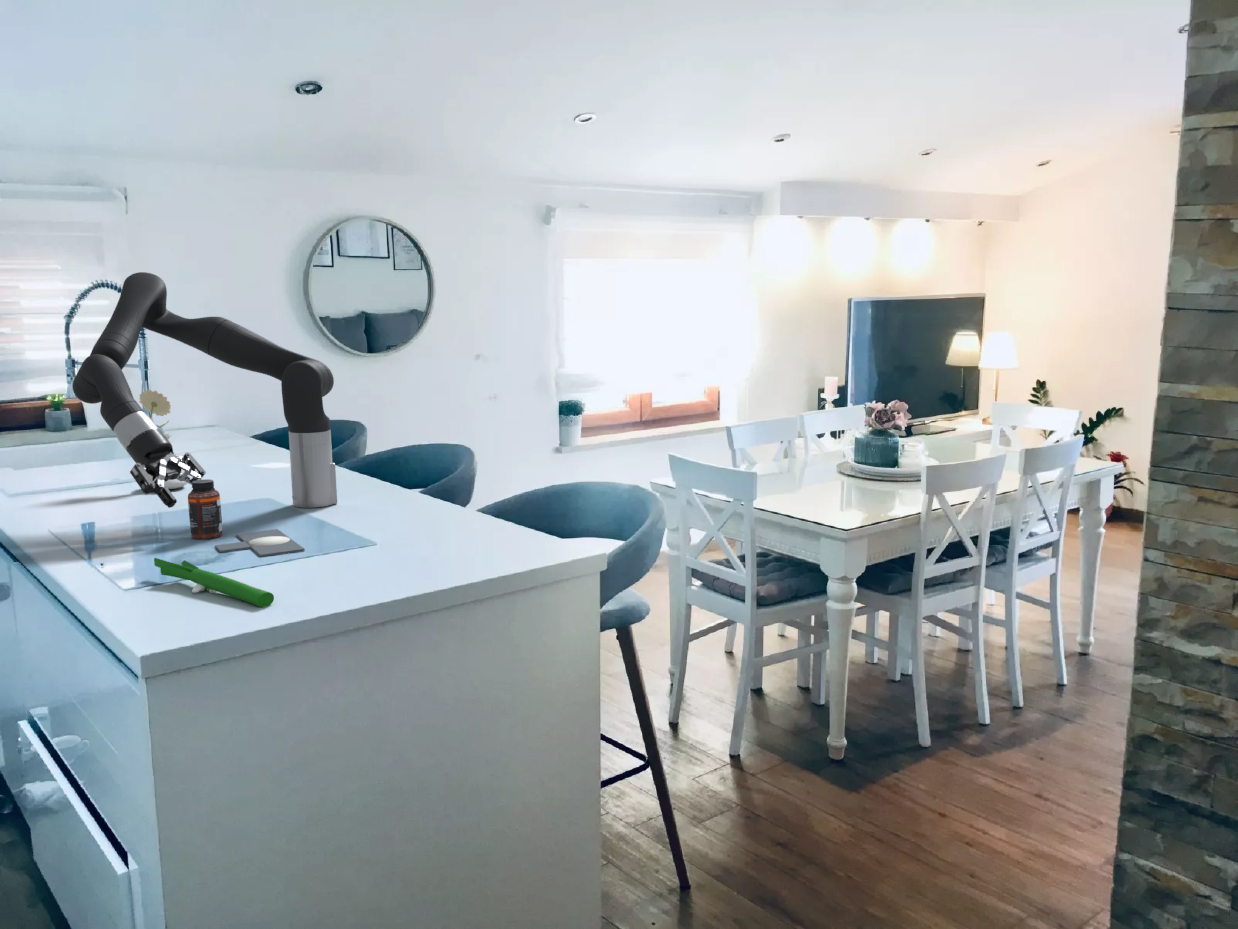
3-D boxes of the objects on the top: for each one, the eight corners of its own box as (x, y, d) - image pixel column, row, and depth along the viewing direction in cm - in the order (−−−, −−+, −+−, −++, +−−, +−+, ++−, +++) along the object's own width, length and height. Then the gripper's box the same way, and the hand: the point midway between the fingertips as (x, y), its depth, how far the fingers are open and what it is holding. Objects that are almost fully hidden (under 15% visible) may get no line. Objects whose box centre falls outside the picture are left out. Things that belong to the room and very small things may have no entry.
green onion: (277, 609, 153) (168, 570, 170) (276, 588, 153) (167, 551, 169) (249, 617, 149) (141, 576, 166) (248, 596, 149) (140, 558, 166)
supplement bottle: (229, 534, 199) (225, 479, 197) (206, 541, 194) (201, 484, 192) (207, 532, 201) (203, 477, 200) (184, 538, 196) (179, 482, 194)
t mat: (277, 530, 202) (277, 528, 202) (304, 550, 185) (304, 548, 185) (207, 539, 195) (207, 537, 195) (229, 561, 178) (229, 558, 178)
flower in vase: (198, 487, 251) (191, 389, 247) (157, 494, 241) (148, 392, 237) (168, 482, 258) (160, 387, 254) (126, 489, 248) (117, 390, 244)
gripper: (162, 446, 207) (207, 504, 205) (104, 457, 195) (152, 519, 192) (179, 422, 204) (226, 482, 202) (121, 432, 192) (171, 495, 189)
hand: (190, 500), depth 197 cm, fingers open, 8 cm apart
